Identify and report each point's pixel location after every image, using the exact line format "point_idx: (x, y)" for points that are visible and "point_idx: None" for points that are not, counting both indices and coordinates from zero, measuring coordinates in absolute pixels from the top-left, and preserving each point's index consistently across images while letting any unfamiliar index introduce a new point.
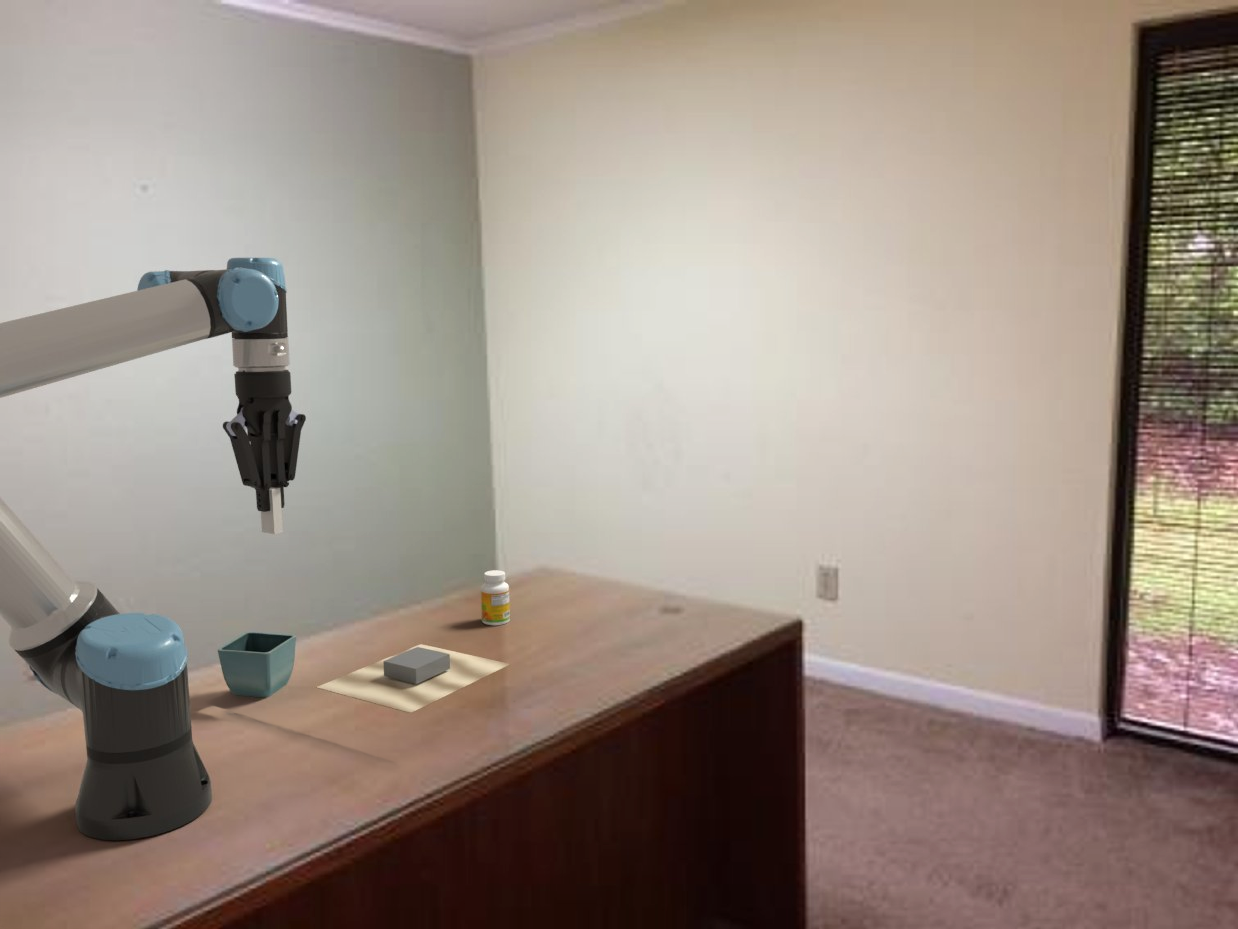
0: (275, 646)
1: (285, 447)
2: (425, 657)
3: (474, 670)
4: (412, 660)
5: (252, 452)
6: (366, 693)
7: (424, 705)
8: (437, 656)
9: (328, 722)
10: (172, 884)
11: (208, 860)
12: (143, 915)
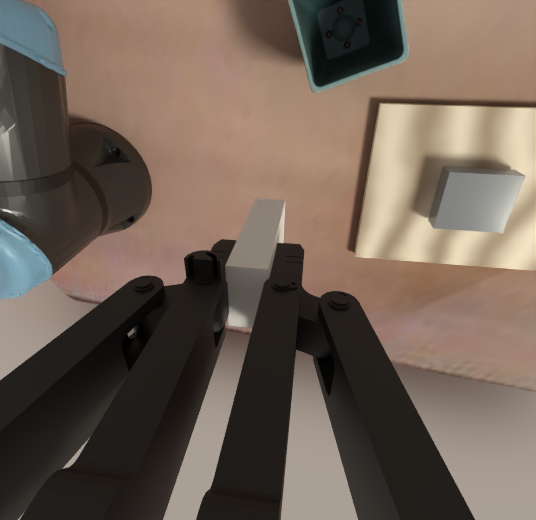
0: (393, 15)
1: (361, 460)
2: (480, 213)
3: (501, 246)
4: (463, 205)
5: (65, 464)
6: (385, 180)
7: (377, 257)
8: (488, 224)
9: (313, 182)
10: (79, 273)
11: (105, 272)
12: (56, 283)
